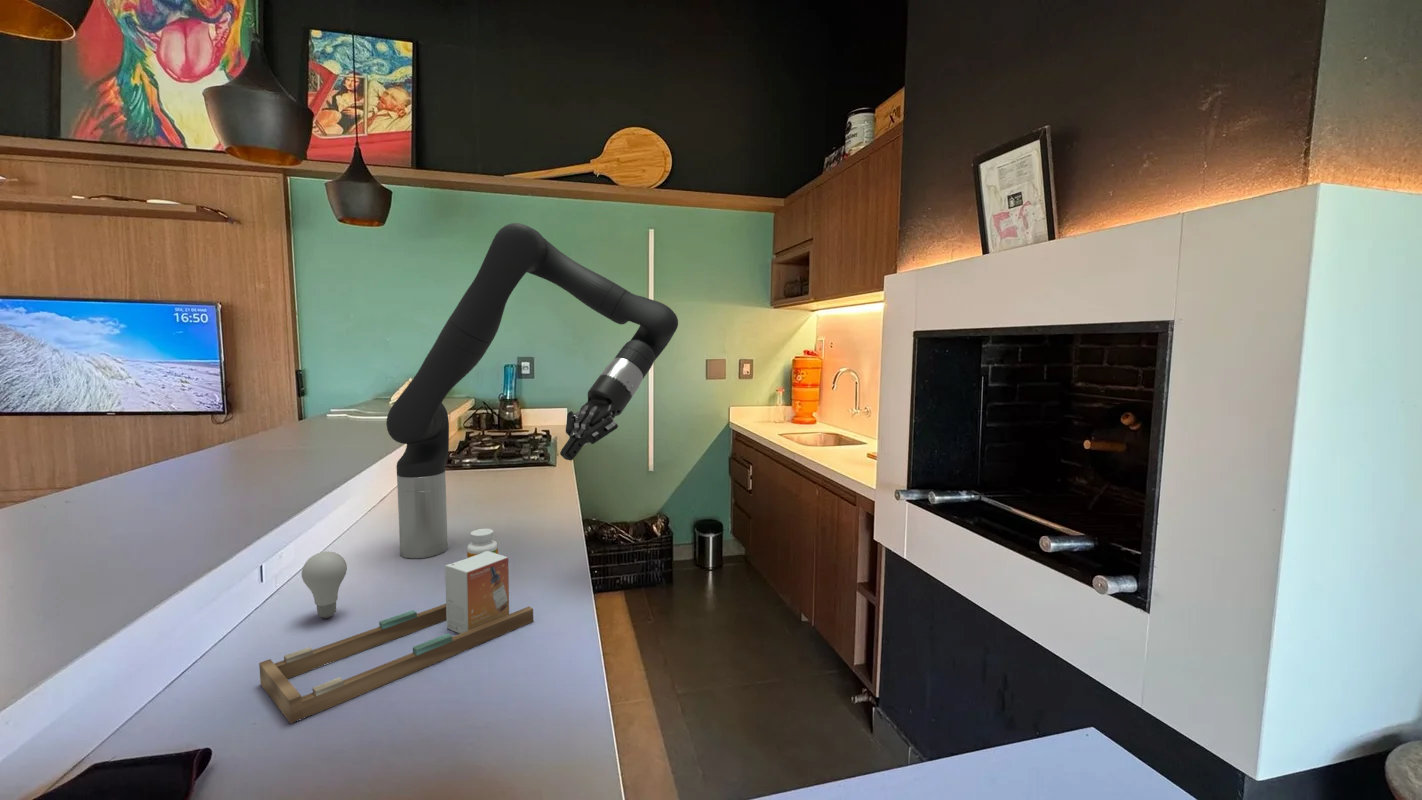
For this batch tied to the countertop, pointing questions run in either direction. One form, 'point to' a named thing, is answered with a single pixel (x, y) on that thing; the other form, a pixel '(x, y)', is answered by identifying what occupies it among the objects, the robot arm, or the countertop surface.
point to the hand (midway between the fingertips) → (565, 457)
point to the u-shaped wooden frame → (343, 690)
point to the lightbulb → (324, 580)
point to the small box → (476, 591)
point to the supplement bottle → (481, 542)
